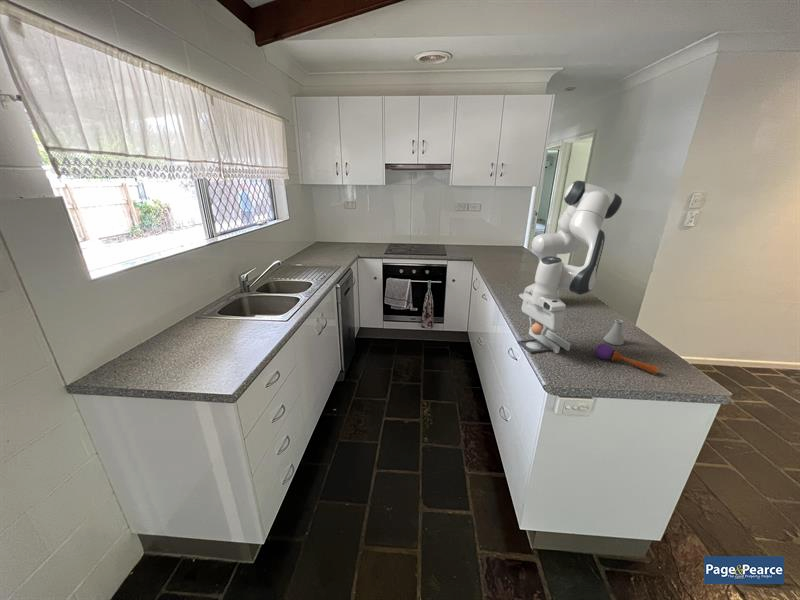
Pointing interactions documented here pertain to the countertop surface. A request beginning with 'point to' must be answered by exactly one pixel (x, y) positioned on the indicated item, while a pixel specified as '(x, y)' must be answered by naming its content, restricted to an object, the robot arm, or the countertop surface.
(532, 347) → the gray square tray
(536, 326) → the ball
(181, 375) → the countertop surface
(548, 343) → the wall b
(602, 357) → the purple and orange maraca
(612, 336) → the flask
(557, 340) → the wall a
